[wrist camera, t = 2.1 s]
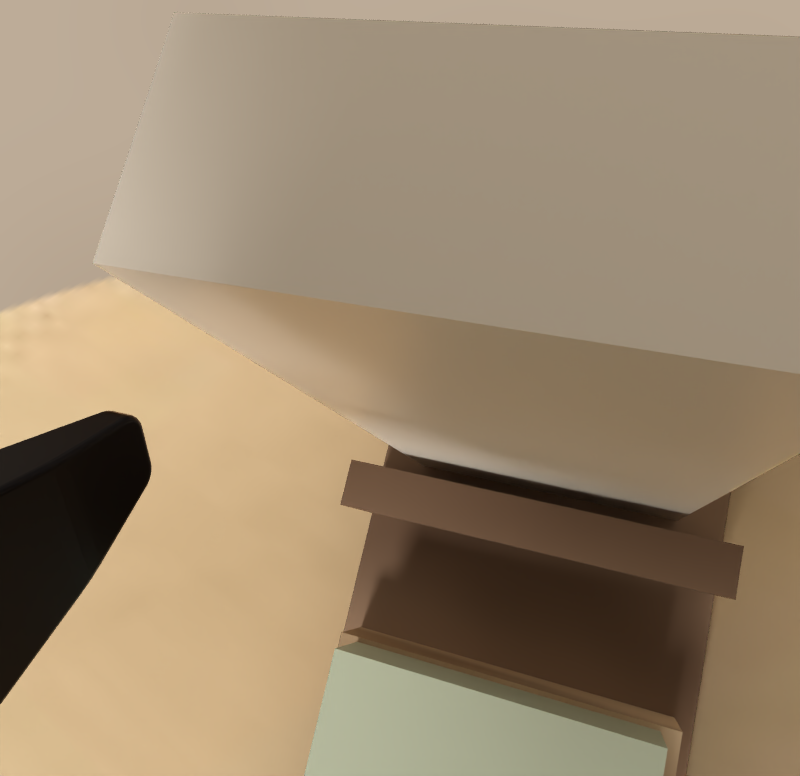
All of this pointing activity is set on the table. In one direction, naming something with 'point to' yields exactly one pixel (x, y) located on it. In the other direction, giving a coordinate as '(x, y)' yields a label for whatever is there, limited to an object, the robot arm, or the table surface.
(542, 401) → the white rectangular block
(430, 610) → the rack
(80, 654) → the table surface
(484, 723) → the offcut upper
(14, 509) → the robot arm
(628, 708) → the offcut lower
